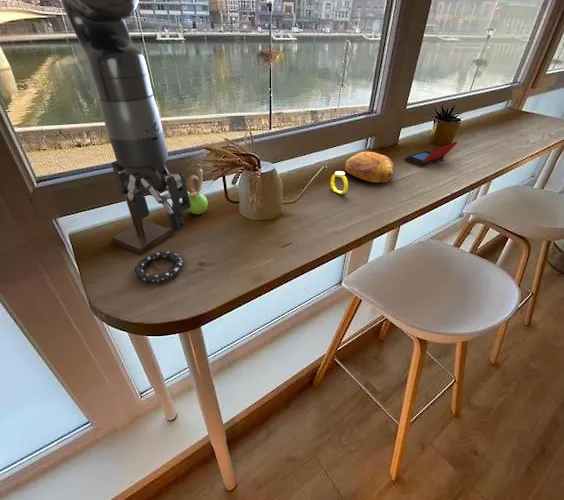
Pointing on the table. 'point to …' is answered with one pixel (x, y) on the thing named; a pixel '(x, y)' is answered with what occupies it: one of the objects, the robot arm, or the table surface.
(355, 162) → the bread loaf
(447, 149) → the handheld console
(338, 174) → the gold gemstone ring
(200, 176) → the snail figurine
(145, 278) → the hang ring
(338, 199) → the table surface
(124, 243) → the stand
